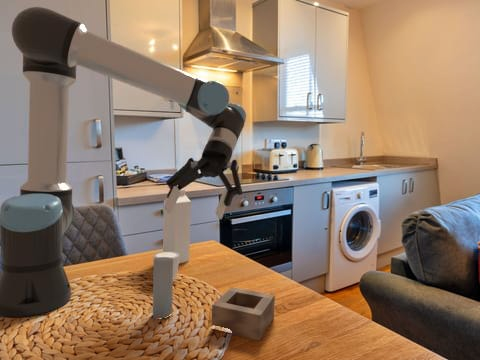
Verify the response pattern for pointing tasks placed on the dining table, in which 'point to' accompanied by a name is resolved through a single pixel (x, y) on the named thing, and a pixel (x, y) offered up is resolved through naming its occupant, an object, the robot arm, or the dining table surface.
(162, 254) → the grey and white cylinder
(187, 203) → the milk
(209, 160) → the robot arm
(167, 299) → the grey cylinder
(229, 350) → the dining table surface
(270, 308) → the socket
